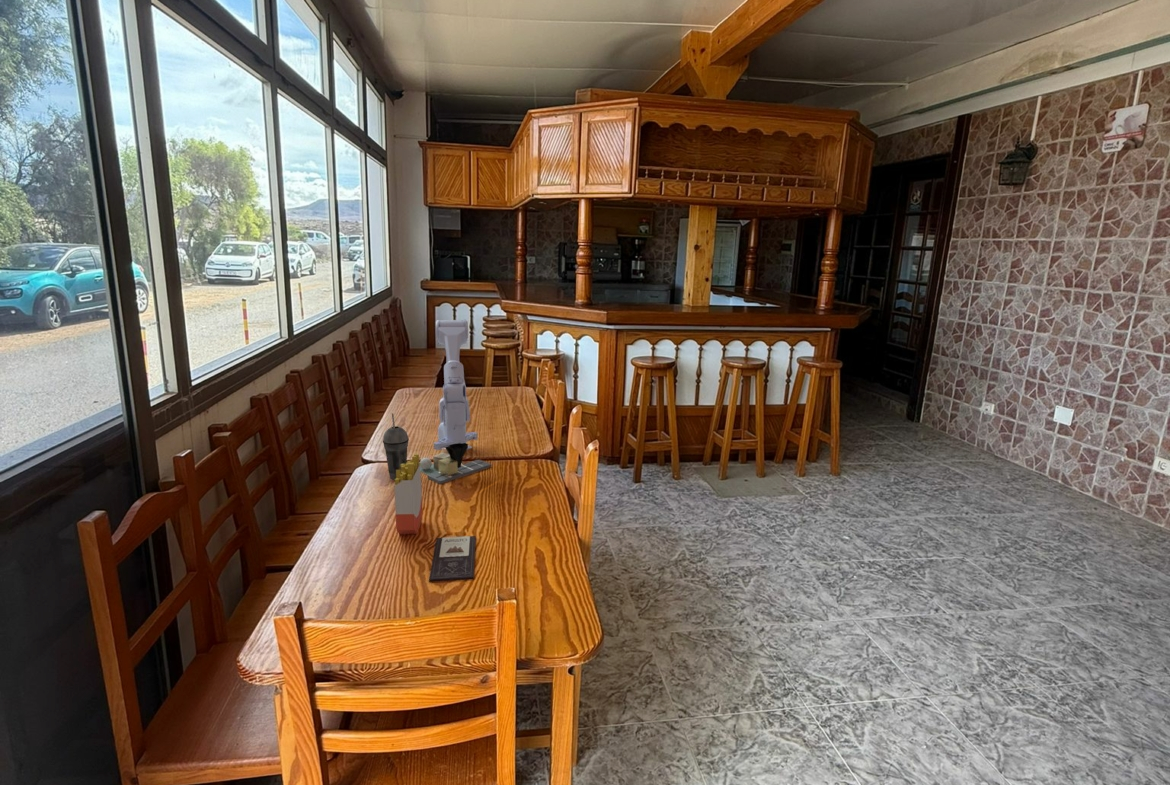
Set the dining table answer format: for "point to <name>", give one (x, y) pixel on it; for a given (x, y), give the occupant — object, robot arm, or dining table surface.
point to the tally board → (460, 471)
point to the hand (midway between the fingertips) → (456, 466)
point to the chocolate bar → (453, 559)
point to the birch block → (439, 457)
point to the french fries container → (408, 497)
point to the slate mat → (430, 470)
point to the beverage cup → (395, 448)
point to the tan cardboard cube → (448, 466)
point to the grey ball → (425, 463)
